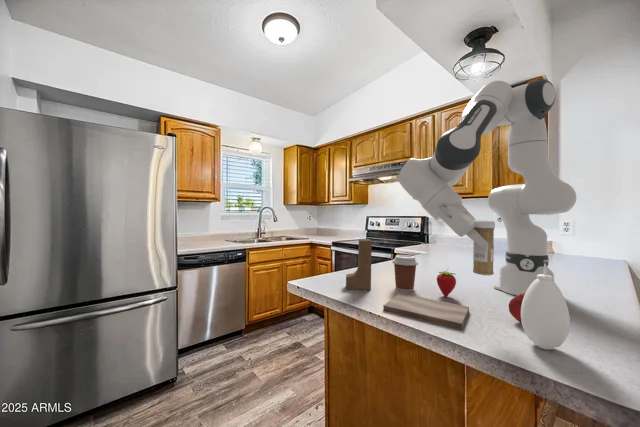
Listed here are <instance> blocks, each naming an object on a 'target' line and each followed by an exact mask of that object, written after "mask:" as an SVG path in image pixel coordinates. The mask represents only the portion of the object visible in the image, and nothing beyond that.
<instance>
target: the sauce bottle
mask: <svg viewBox="0 0 640 427" xmlns="http://www.w3.org/2000/svg"><path fill="white" fill-rule="evenodd" d="M566 301H567V300H566V299H565V296H564V295H563V292H562V291H561V289H560V288H559V286H558V284H556V282H555V280H554V281H553V277H552V276H550V275H547V274H546V263H545V264H544V273H543V274H538V275H537V279H536V280H534V281H533V282H532V284H531V285H530V286H529V288H528V289H527V291H526V293H525V295H524V298H523V301H522V306H521V321H522V323H521V326H522V327H523V328H522V329H523V331H524V333H525V335H526V337H527V338H528V339H529V340H530V341H531V342H532V343H533V345H535V346H537V347H538V348H540V349H542V350H547V351H548V350H554V349H555V348H559V347H561V346H562V345H563V344H564V342H566V339H567V338H568V336H569V333H570V332H569V331H570V328H571V326H570V325H571V324H570V322H571V320H570V312H569V308H568V304H567V302H566Z"/></svg>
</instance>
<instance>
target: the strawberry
mask: <svg viewBox="0 0 640 427" xmlns="http://www.w3.org/2000/svg"><path fill="white" fill-rule="evenodd" d="M448 269H449V268H447V269H446V270H445V271H444V270H443V271H438V273H439V274H438V275H437V276H436V283H437V286H438V289H439V290H440V292H441V293H442V295H443V296H444V297H445V298H446V297H448V296H449V295H450V294H451V293H452V292H453V291H454V289H455V288H456V285H457V279H456V277H455V276H454V275H455V273H453V272H449V271H448Z"/></svg>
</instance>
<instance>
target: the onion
mask: <svg viewBox="0 0 640 427" xmlns="http://www.w3.org/2000/svg"><path fill="white" fill-rule="evenodd" d="M524 295H525V293H523V292H521V293H520V295H519V296H517V295H515V296H514V297H513V298H511V300H509V303H508V311H509V313H510V315H511V317H513V318H514V319H515V320H516V321H518V322H519V323H520V324H522V321H521V306H522V301H523V298H524Z"/></svg>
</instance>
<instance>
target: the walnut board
mask: <svg viewBox="0 0 640 427" xmlns="http://www.w3.org/2000/svg"><path fill="white" fill-rule="evenodd" d="M382 311H384V312H388V313H392V314H396V315H400V316H404V317H409V318H413V319H417V320H421V321H424V322H428V323H429V322H430V323H433V324H437V325H440V326H444V327H449V328H453V329H456V330H461V331H462V330H463V328H464V325H465V322H466V321H467V317H468V316H469V313H470V306H466V305H461V304H456V303H452V302H447V301H441V300H435V299H431V298H427V297H426V298H425V297H423V296H422V297H421V296H415V295H412V294H406V293H400V292H399V293H398V294H397V295H395V296H394V297H392V298H391V299H390V300H389V301H387V302H385V303H384V304H383V309H382Z"/></svg>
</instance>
